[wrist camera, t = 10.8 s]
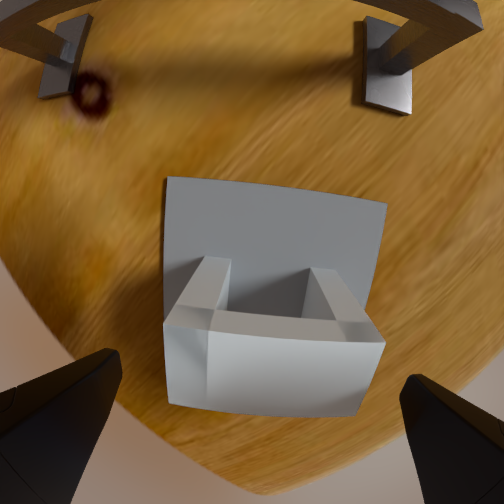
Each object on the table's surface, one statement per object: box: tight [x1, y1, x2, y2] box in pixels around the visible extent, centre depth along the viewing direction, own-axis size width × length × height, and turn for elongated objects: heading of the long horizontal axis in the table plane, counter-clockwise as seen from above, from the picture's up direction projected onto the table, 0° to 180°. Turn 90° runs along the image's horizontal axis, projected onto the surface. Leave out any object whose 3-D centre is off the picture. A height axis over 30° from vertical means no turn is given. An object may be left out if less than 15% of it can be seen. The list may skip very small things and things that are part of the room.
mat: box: [163, 176, 387, 321], centre depth 14 cm, size 10×10×1 cm
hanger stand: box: [0, 0, 484, 116], centre depth 7 cm, size 19×5×7 cm, turn 84°
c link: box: [163, 256, 386, 417], centre depth 10 cm, size 3×6×6 cm, turn 84°
